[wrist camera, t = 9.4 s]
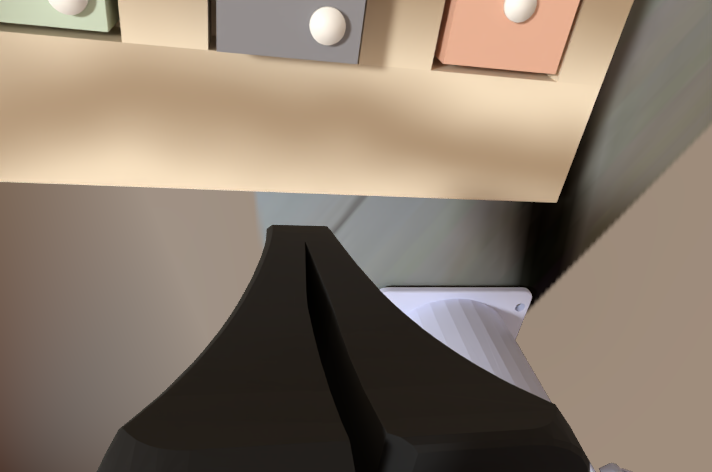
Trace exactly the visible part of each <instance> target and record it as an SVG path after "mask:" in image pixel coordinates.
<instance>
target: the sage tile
mask: <svg viewBox="0 0 712 472" xmlns="http://www.w3.org/2000/svg"><path fill="white" fill-rule="evenodd" d="M119 20H120V17H119V7H118V0H0V22H6V23H16V24H27V25H38V26H48V27H59V28H69V29H80V30H91V31H101V32H109V31H110V30H111V28H112V27H113V26H114V25H115V24H116V23H117V22H118V21H119Z"/></svg>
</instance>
